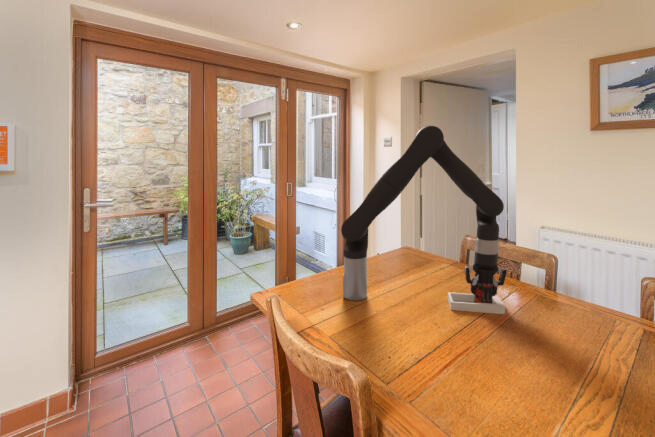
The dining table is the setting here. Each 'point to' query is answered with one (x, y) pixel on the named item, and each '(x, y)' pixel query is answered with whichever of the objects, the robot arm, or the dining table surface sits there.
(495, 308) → the white rectangular frame
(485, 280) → the deodorant
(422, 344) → the dining table surface
